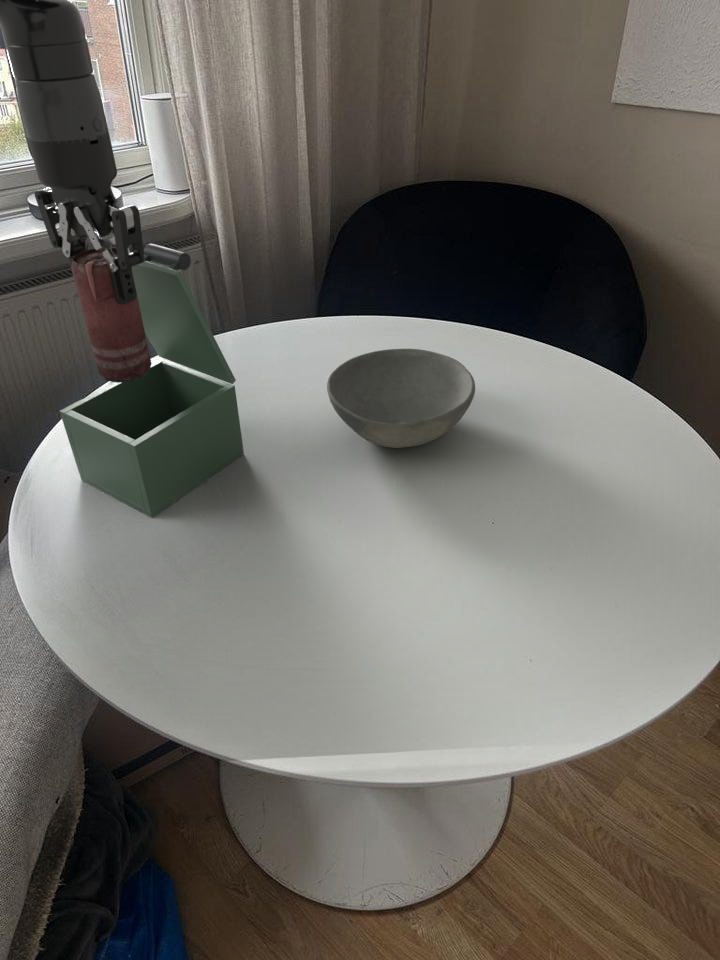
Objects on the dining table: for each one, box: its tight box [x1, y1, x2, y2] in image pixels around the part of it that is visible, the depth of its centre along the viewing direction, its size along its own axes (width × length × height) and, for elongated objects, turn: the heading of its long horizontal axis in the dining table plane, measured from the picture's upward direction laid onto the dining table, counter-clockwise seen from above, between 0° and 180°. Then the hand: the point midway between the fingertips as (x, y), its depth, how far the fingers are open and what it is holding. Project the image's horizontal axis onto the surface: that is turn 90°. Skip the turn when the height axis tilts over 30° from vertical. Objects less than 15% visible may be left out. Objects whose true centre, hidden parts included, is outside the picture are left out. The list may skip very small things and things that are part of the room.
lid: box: [132, 243, 237, 385], centre depth 90 cm, size 18×14×5 cm
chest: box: [59, 357, 245, 519], centre depth 94 cm, size 17×14×11 cm
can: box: [70, 247, 152, 383], centre depth 80 cm, size 6×6×14 cm
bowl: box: [326, 348, 476, 449], centre depth 102 cm, size 21×21×8 cm
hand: (106, 294), depth 78 cm, fingers closed on can, 6 cm apart
